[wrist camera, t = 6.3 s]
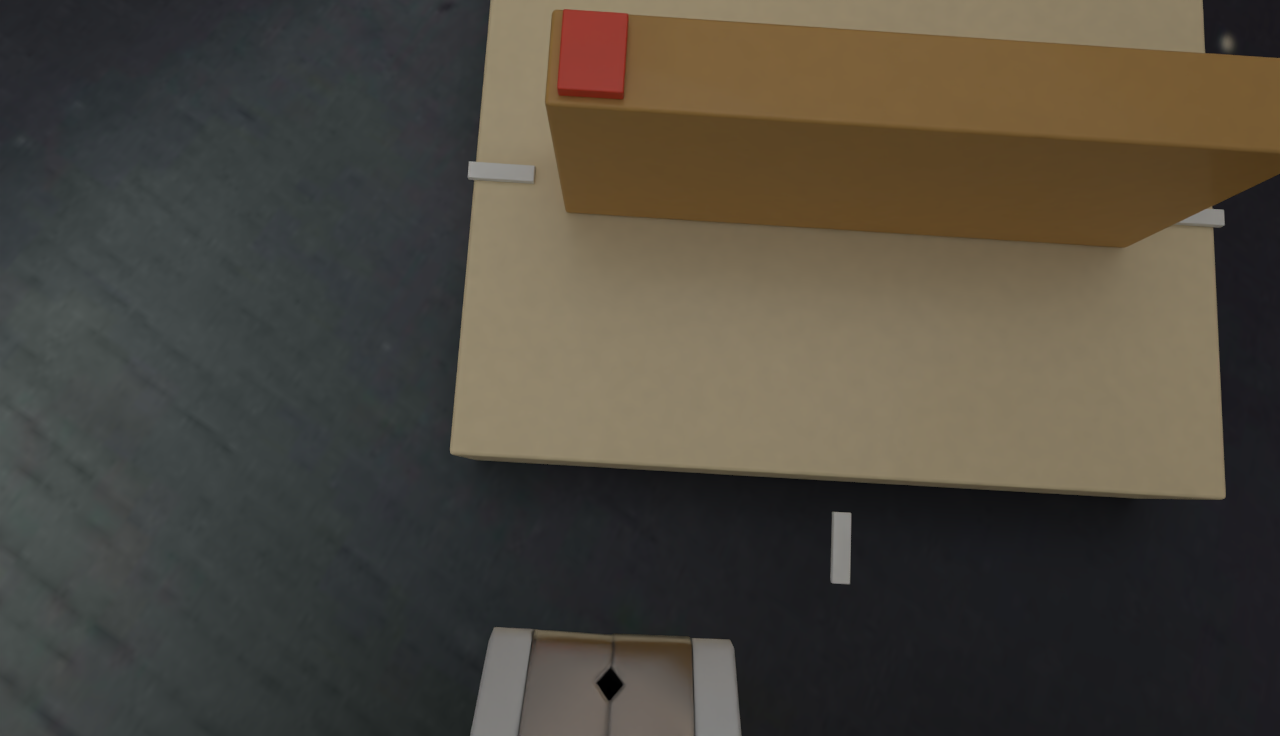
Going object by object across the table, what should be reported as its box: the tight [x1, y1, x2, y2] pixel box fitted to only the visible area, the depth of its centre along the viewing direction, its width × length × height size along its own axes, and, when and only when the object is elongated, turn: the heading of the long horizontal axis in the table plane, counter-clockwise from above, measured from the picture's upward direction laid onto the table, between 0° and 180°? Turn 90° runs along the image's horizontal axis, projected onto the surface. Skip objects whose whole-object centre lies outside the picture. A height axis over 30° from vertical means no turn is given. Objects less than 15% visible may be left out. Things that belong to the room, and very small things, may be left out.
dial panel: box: [450, 0, 1226, 584], centre depth 19 cm, size 16×16×3 cm
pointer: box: [545, 9, 1280, 248], centre depth 15 cm, size 12×2×5 cm, turn 87°
